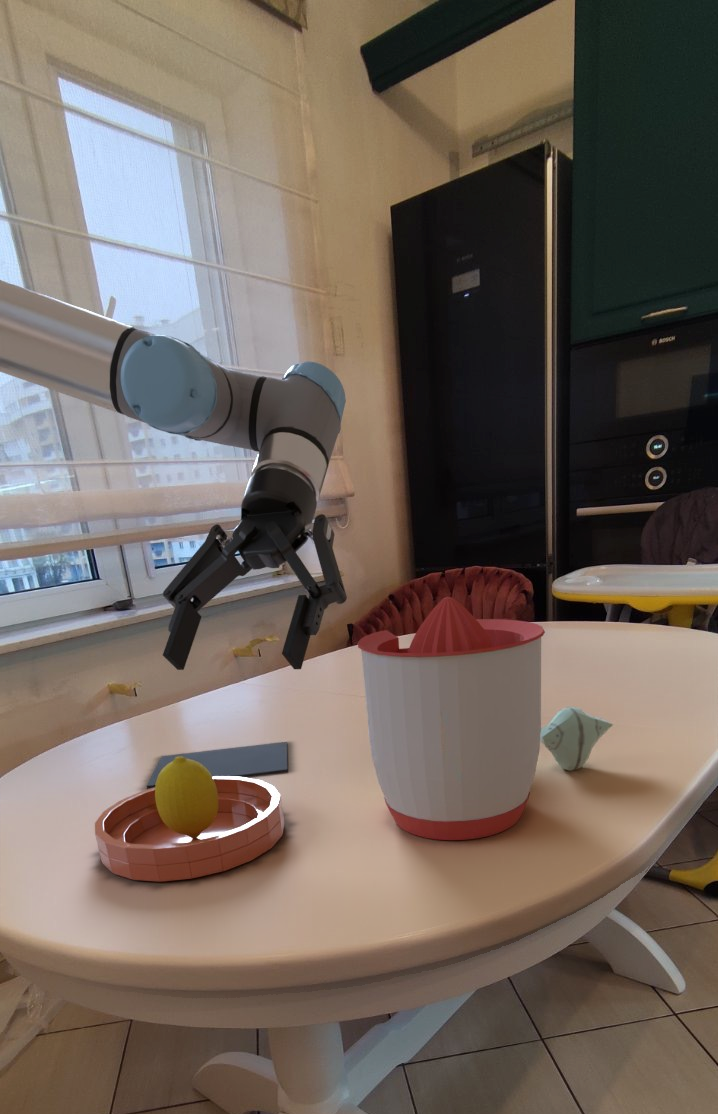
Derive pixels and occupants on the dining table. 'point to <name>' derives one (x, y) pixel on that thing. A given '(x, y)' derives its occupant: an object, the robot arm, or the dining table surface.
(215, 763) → the mat
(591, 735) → the pale green angular piece
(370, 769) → the dining table surface
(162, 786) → the lemon
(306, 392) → the robot arm
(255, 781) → the bowl
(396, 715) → the citrus juicer
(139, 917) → the dining table surface
